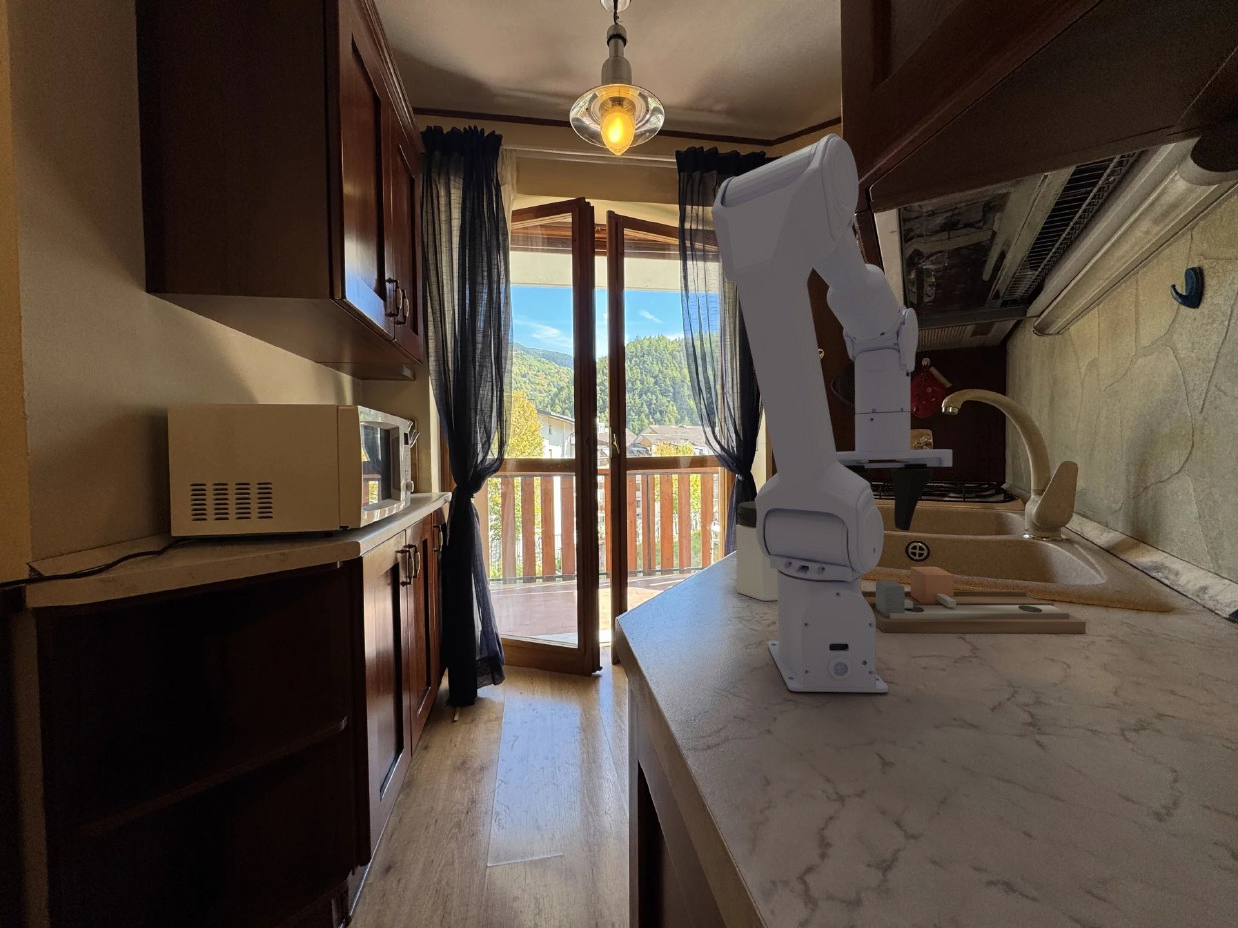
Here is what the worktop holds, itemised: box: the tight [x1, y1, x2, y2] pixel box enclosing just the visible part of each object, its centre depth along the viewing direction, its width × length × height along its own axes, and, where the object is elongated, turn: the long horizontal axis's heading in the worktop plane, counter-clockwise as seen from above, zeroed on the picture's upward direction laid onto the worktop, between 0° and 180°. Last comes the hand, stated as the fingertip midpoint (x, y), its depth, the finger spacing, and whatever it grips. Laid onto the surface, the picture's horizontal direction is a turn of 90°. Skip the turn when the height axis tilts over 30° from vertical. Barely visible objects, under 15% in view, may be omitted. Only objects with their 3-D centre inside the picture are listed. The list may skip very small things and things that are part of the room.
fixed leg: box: [875, 579, 913, 619], centre depth 56 cm, size 2×3×4 cm
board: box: [861, 590, 1087, 634], centre depth 57 cm, size 9×20×2 cm, turn 85°
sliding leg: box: [910, 566, 956, 607], centre depth 58 cm, size 6×3×4 cm, turn 175°
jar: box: [735, 500, 778, 602], centre depth 69 cm, size 9×8×12 cm
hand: (882, 529), depth 59 cm, fingers open, 4 cm apart
